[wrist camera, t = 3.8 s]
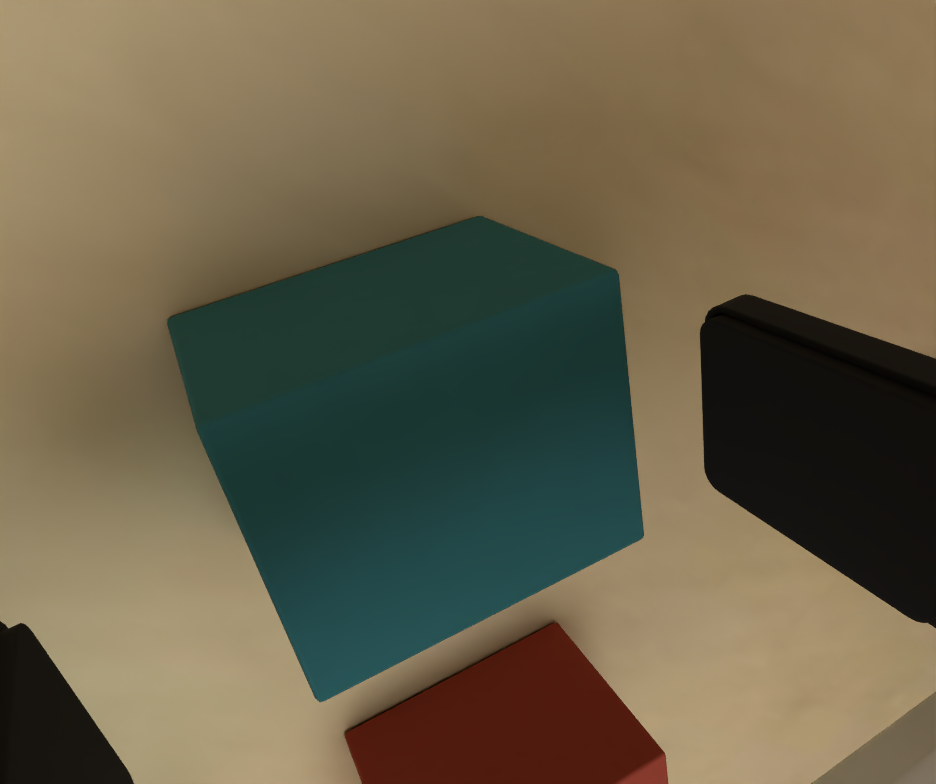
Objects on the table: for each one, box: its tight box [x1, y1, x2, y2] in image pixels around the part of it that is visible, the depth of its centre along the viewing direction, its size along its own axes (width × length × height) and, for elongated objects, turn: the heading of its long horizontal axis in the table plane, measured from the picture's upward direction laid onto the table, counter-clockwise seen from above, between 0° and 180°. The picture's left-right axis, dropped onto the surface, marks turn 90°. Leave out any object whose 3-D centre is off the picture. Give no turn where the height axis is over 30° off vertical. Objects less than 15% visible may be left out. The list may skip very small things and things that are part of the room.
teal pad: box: [167, 216, 644, 702], centre depth 12 cm, size 6×5×4 cm
